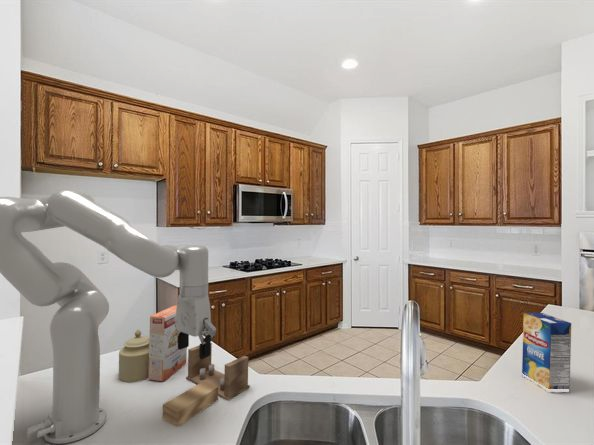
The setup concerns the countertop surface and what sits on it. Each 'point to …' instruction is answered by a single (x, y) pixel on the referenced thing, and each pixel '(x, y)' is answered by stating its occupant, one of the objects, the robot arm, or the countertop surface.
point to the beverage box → (546, 350)
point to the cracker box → (164, 346)
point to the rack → (218, 374)
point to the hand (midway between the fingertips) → (193, 352)
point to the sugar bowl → (134, 359)
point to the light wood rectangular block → (189, 403)
